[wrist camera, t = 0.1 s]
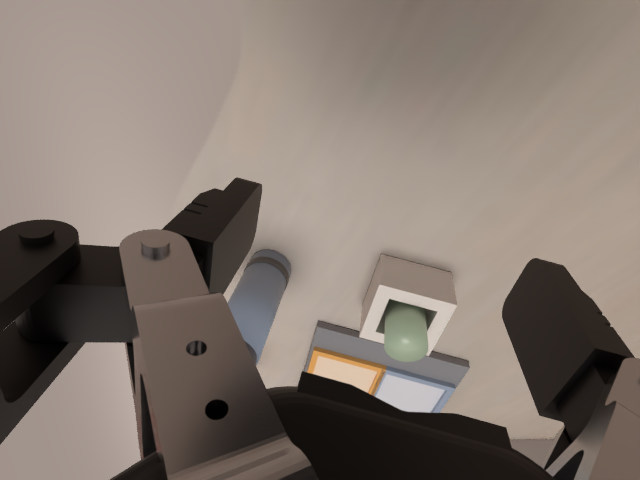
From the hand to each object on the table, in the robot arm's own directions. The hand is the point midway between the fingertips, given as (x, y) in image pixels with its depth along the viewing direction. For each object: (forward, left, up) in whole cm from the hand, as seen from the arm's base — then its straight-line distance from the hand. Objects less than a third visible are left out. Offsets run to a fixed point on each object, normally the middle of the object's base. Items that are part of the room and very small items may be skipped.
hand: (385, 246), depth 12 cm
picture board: (+28, +7, -17) cm, 33 cm away
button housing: (+15, +6, -17) cm, 24 cm away
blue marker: (+17, -6, -17) cm, 25 cm away
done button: (+15, +6, -15) cm, 22 cm away
